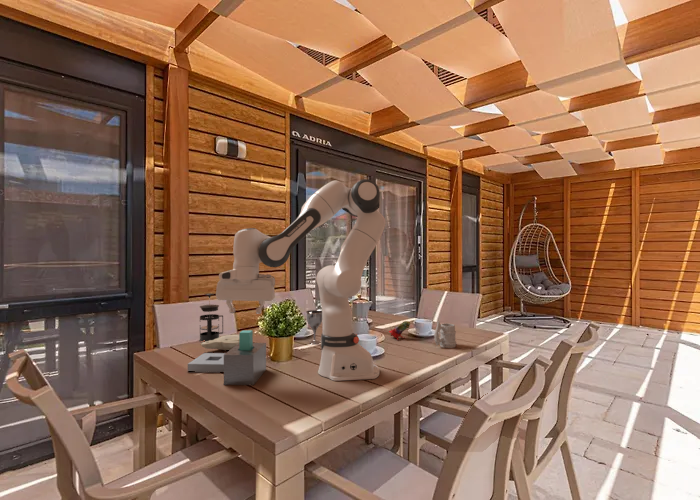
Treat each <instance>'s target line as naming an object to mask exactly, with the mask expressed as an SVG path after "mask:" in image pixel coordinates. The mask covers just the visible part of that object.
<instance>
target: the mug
mask: <svg viewBox="0 0 700 500" xmlns="http://www.w3.org/2000/svg"><path fill="white" fill-rule="evenodd" d="M456 333H457V332H456V325H455V324H453V323H441V322H440V321H438V320H437V321H436V327H435V332H434V335H433V337H434V343H435V345H436V346H440V348H444V349H445V348H446V349H447V348H448V349H453V348H456V345H457V341H456ZM439 335H440V336H439Z"/></svg>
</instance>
